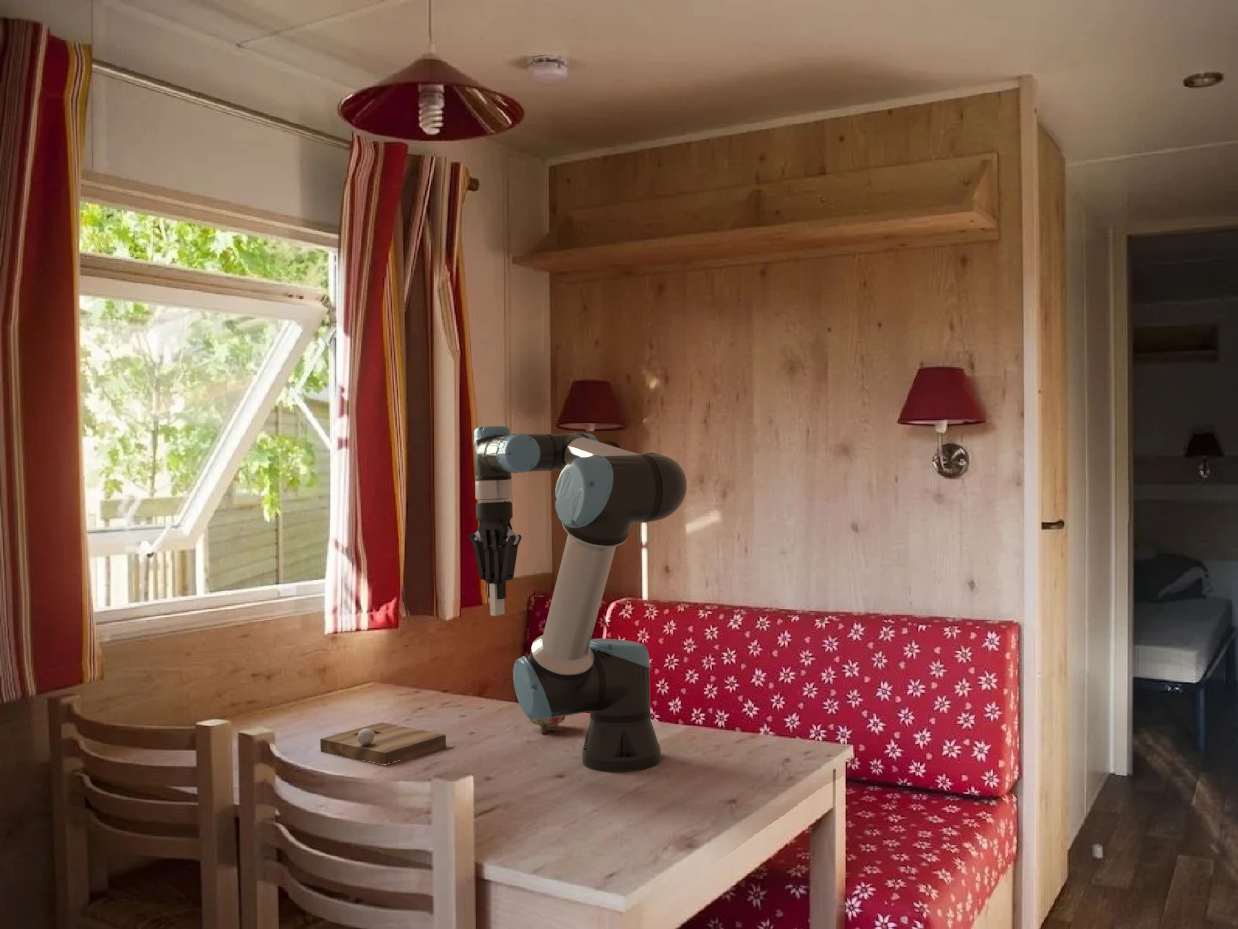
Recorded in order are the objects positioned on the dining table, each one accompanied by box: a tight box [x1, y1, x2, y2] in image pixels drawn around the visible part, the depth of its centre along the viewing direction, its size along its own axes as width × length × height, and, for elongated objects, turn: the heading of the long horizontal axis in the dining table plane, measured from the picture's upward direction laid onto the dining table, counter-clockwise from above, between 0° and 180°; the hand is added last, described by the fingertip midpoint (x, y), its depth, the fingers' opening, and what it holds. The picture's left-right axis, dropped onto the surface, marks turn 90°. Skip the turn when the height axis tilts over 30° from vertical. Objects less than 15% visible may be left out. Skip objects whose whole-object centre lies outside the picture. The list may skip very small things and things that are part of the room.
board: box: [319, 721, 447, 765], centre depth 226 cm, size 20×16×2 cm
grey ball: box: [358, 729, 374, 745], centre depth 220 cm, size 3×3×3 cm
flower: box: [526, 715, 566, 735], centre depth 237 cm, size 10×9×8 cm
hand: (497, 614), depth 229 cm, fingers closed
